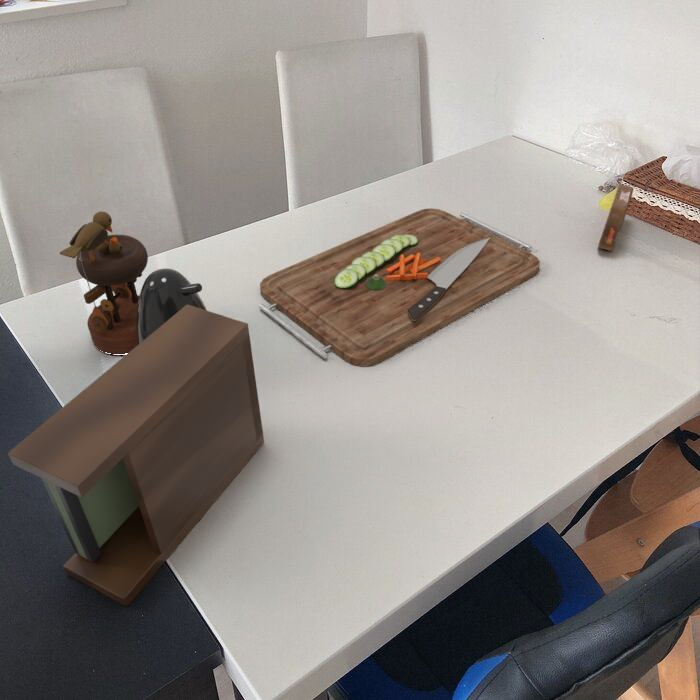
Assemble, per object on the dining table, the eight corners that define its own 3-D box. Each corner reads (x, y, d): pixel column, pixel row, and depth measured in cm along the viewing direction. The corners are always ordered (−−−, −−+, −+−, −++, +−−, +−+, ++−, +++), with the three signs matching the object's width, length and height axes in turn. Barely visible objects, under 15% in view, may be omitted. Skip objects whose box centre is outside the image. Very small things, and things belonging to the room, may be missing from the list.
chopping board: (441, 207, 129) (442, 192, 127) (556, 263, 113) (560, 247, 111) (240, 295, 107) (237, 278, 105) (348, 380, 91) (347, 362, 89)
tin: (607, 217, 125) (618, 174, 120) (625, 221, 124) (637, 177, 118) (594, 257, 114) (605, 211, 109) (613, 261, 113) (625, 215, 108)
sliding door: (75, 553, 68) (30, 456, 59) (147, 477, 76) (118, 381, 67) (93, 562, 68) (50, 465, 59) (164, 485, 75) (136, 388, 66)
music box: (150, 366, 94) (103, 238, 81) (77, 365, 96) (20, 240, 83) (186, 303, 106) (150, 183, 93) (121, 302, 107) (76, 185, 95)
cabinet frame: (66, 574, 69) (7, 452, 57) (210, 421, 85) (187, 304, 74) (127, 607, 66) (77, 486, 54) (264, 442, 82) (248, 323, 71)
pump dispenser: (197, 397, 89) (177, 302, 79) (130, 380, 92) (102, 286, 82) (234, 351, 96) (219, 258, 87) (171, 336, 99) (149, 245, 90)
